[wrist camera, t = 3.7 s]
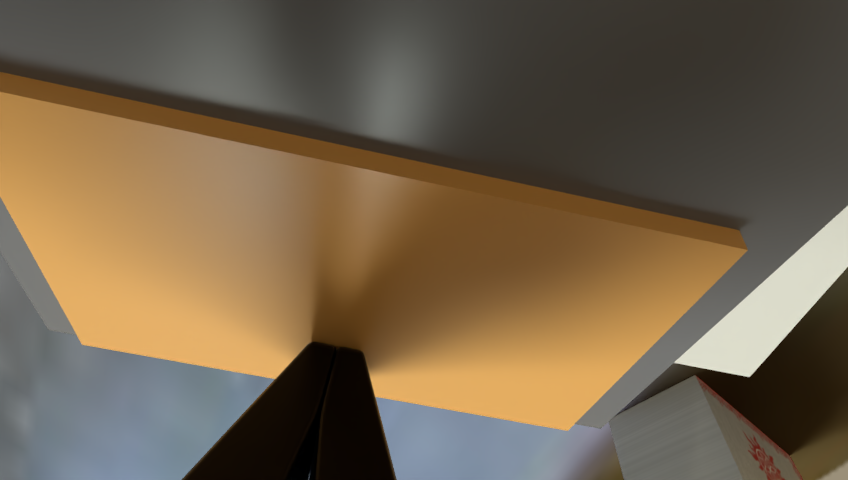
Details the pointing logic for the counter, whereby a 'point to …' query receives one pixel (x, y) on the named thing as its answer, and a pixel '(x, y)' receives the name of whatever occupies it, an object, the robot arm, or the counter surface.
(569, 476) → the counter surface
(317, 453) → the robot arm
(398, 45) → the rocker switch
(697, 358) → the breaker housing
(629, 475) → the printed cardboard box
